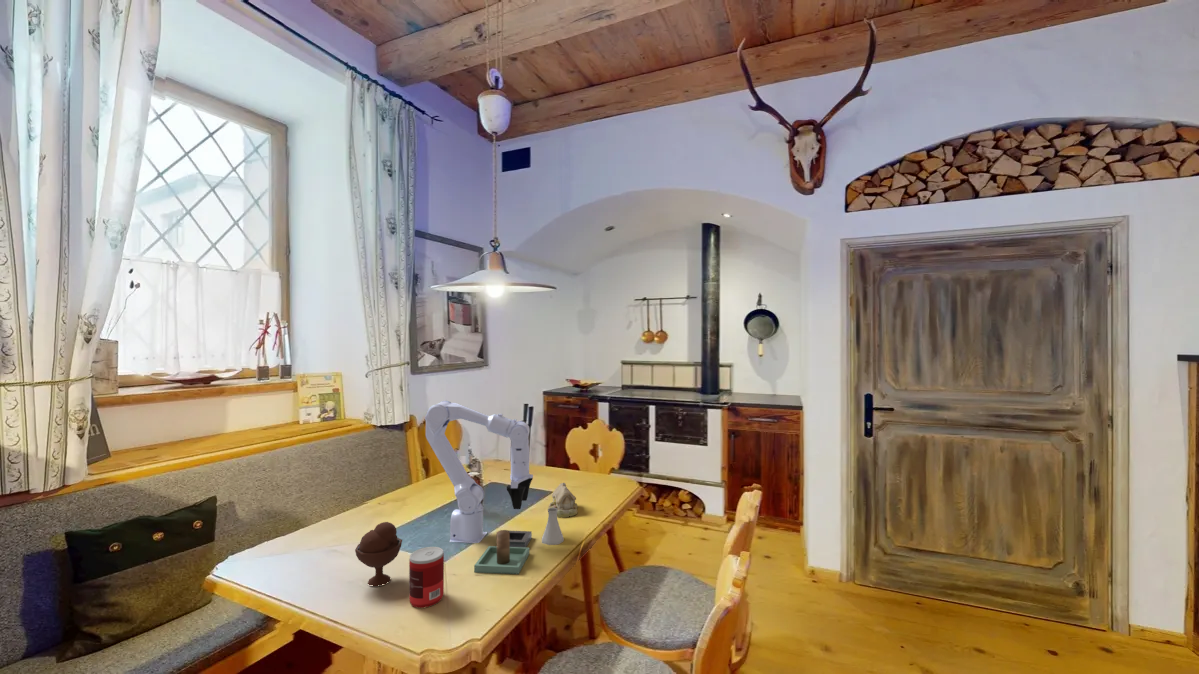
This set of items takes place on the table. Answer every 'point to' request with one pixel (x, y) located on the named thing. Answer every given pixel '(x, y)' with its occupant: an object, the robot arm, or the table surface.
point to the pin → (503, 547)
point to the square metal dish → (520, 538)
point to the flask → (552, 529)
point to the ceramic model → (564, 501)
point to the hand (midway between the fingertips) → (520, 504)
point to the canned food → (426, 576)
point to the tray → (490, 564)
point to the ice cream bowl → (379, 550)
